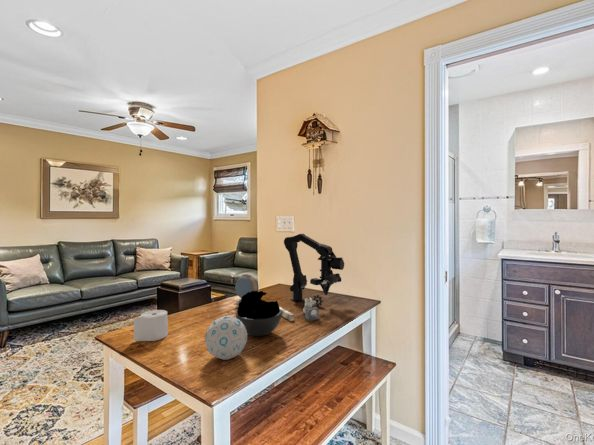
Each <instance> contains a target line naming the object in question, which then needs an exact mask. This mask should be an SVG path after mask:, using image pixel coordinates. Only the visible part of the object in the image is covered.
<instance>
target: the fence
mask: <svg viewBox="0 0 594 445" xmlns="http://www.w3.org/2000/svg"><path fill="white" fill-rule="evenodd" d="M279 309H281V311H282V316H281V317H283V318H284V319H286V320H287V321H289V322H293V321H295V314H294V313H292V312H290V311H288V310H287V309H286V308H283V307H281V306H279Z"/></svg>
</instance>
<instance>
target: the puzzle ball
mask: <svg viewBox="0 0 594 445" xmlns="http://www.w3.org/2000/svg"><path fill="white" fill-rule="evenodd" d="M247 341H248V333H247V331H246V328H245V326H244V325H243V323H242V322H241V321H240V320H239V319H237V318H236V316H232V315H231V316H230V315H225V316H221V317H218V318H216V319H215V320H214V321H212V322H211V324H210V325H209V326H208V327H207V330H206V333H205V341H204V342H205V346H206V349H207V351H208V353H209V354H210V355H212V357H215V358H217V359H220V360H224V361H229V360H231V359H233V358H235V357H237V356H238V355H240V354H241V353H242V352H243V350H244V349H245V347H246V344H247Z"/></svg>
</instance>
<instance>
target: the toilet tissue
mask: <svg viewBox="0 0 594 445" xmlns="http://www.w3.org/2000/svg"><path fill="white" fill-rule="evenodd" d="M168 321H169V320H168V310H165V309H155V310H154V309H153V310H148V311H145V312H143V313H140V318H137V317H136V318H135V317H134V318H133V341H134V342H154V341H159V340H162V339H164V338H166V337H167V336H168V334H169V333H168V332H169V331H168V328H169V327H168V326H169V324H168Z"/></svg>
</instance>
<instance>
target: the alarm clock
mask: <svg viewBox="0 0 594 445" xmlns="http://www.w3.org/2000/svg"><path fill="white" fill-rule="evenodd" d="M234 287H235V292H236V294H237V296H238V297H239V300H238V301H236V302H234V303H233V305H236V306H239V303H240V302H241V299H242V296H243V295H246V293H248V292H251V291H256V290H257V291H258V292H259V283H258V280H257V279H256V278H255V277H254V276H253V275H251V274H249V273H244V274H242V275H241V276H240V277H238V278H237V280H236V281H235V286H234Z"/></svg>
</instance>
